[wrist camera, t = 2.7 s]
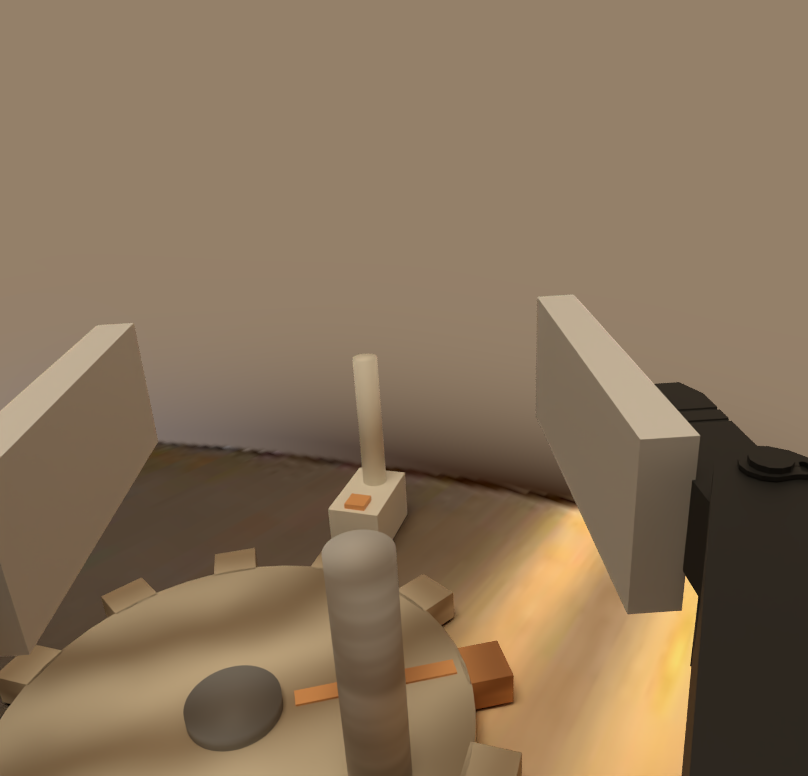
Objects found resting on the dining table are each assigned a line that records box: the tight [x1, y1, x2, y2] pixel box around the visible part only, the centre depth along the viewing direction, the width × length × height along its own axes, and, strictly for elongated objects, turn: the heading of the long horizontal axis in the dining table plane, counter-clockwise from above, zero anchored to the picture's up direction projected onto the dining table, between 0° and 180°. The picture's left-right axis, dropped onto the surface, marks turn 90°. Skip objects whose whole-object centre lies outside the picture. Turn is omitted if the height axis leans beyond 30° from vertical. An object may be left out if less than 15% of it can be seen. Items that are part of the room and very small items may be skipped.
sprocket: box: [0, 530, 522, 776], centre depth 29 cm, size 23×23×12 cm
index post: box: [328, 354, 407, 540], centre depth 44 cm, size 5×3×11 cm, turn 162°
